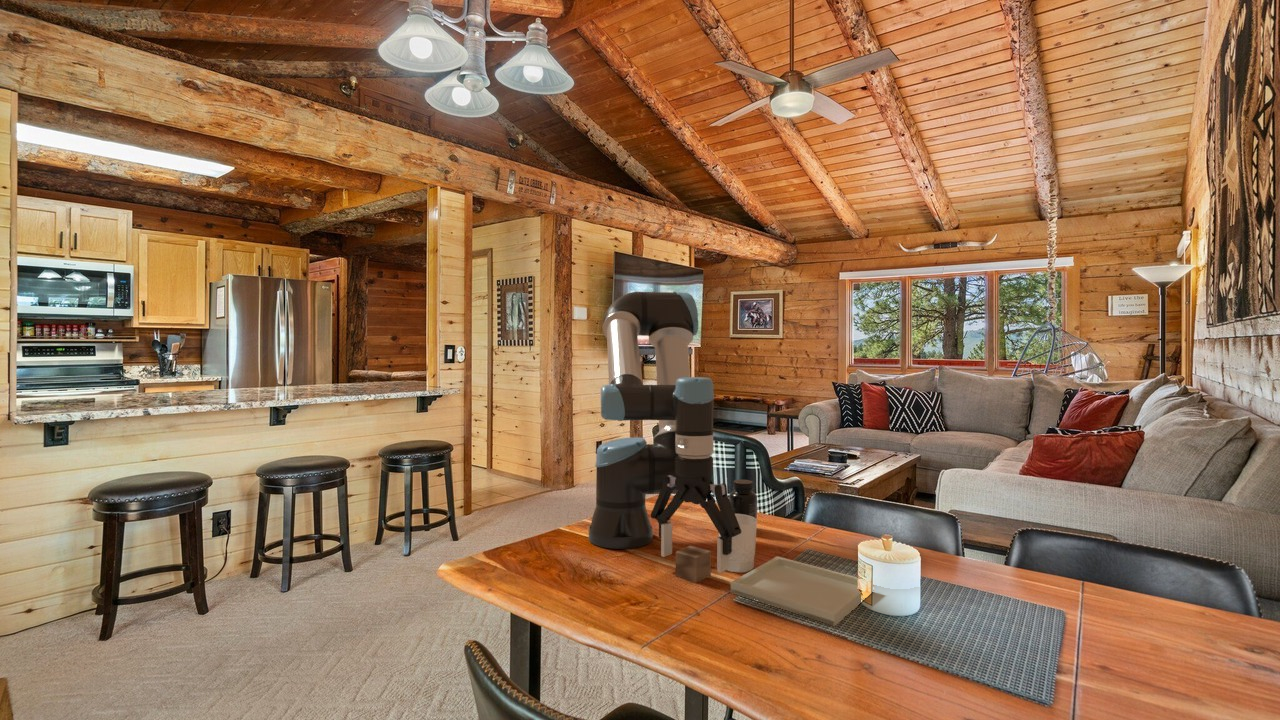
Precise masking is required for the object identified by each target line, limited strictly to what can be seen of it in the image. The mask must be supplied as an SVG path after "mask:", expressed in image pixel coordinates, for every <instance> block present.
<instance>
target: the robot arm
mask: <svg viewBox="0 0 1280 720" xmlns="http://www.w3.org/2000/svg"><path fill="white" fill-rule="evenodd" d="M698 331H699V313H698V307H697V303H696V301H695V298H694V296H693V295H691V293H689V292H678V291H671V292H670V291H669V292H668V291H667V292H666V291H665V292H663V291H632V292H629V293H626V294H623V295H621V296H620V297H618V298H617V299H616V300H615V301H613V302H612V303H611V304H610V306H609V307H608V308H607V309H606V311H605V313H604V316H603V319H602V333H603V335H604V337H605V338H606V340H607V341H606V342H607V344H606V345H607V349H606V350H607V369H608V370H607V371H608V374H607V376H608V384H605V385H602V386H601V387H600V416H601V418H602V419H604V420H606V421H611V420H612V421H618V422H622V421H623V422H624V421H625V422H626V421H658V429H659V431H658V432H657V434H655V435H654V436H653V443H652V444H647V441H646V439H645V438H644V437H640V436H638V437H637V436H636V437H623V438H616V439H612V440H608V441H606V442H603V443H601V444H600V445H598V447H597V449H596V460H595V461H596V462H595V464H594V465H595V467H596V473H595V474H596V480H595V481H596V483H595V487H596V489H595V495H596V496H595V499H596V500H595V501H596V502H595V509H594V511H593V515H592V519H591V523H590V525H589V527H588V541H589V542H590V543H591V544H592V545H595V546H597V547H599V548H600V547H602V548H606V549H614V550H615V549H616V550H620V549H621V550H624V549H626V550H627V549H635V548H639V547H644V546H646V545H648V544H650V543H651V542H652V541H653V539H654V530H653V525H651V521H650V518H651V519H652V520H653V519H654V520H656V521H657V522H658V538H659V539H661V541H660V543H661V544H660V550H661V551H660V556H661V557H662V558H664V557H667V556H670V555H672V554H673V522H672V521H671V520H672V517H673V515H674V514H675V513H676V512H677V510H678V509H679V508H680V507H681V505H682V504H683V502H684V503H691V504H694V505H699V506H700V507H701V508H702V509H704V511H705V512H706V514H707V515H708V517H709V519H710V520H711V522H712V523H713V525H714V527H715V529H716V530H717V532H718V535H719V534H720V535H721V536H720V537H719V536H718V537H717V538H716V539H717V542H716V543H717V544H716V546H717V547H716V548H717V549H716V551H717V552H716V555H717V556H716V557H717V559H716V561H717V562H716V572H717V573H723V572H725V571H727V569H728V554H731V552H732V537H734V536H736V535H739V534H741V529H740V526H739V523H738V521H737V518H736V516H735V513H734V511H733V508H732V505H731V503H730V500H729V495H728V488H727V484H726V482H725V483H724V482H723V483H719V484H717V483H716V484H715V483H714V482H713V475H714V458H713V456H712V455H713V454H714V398H715V393H714V381H713V380H712V379H711V378H710V377H702V376H701V377H700V376H697V377H695V376H691V369H690V367H691V366H690V356H689V345H690V344H691V343H692V342H693V340H694V337H695V336H696V335H697V334H698ZM638 336H646V337H647V336H648V342H649V344H650V345H651V346H653V347H654V350H655V351H654V352H655V353H654V354H655V372H656V373H655V374H656V384H644V380H643V375H642V365H641V364H642V363H641V356H640V348H639V347H640V346H639V340H638ZM646 495H658V496H657V497H656V498H657V499H656V501H655V503H654V505H653V508H652V511H651V513H650V517H649V513H648V510H647V507H646V505H647V504H646ZM671 495H673V497H672V499H671V501H670V502H669V500H670V498H671ZM716 503H717V504H716Z"/></svg>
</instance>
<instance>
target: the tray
mask: <svg viewBox="0 0 1280 720" xmlns="http://www.w3.org/2000/svg"><path fill="white" fill-rule="evenodd" d="M857 577H858V576H854V575H850V574H846V573H842V572H839V571H835V570H832V569H831V570H830V569H828V568H823V567H819V566H815V565H813V564H812V565H811V564H808V563H805V562H800V561H797V560H793V559H790V558H785V557H781V556H777V555H776V556H775V557H774V558H771V559H769V560H767V562H766V561H765V563H763V564H761V565H759V566H757V567H754V568H753V569H752V570H751V571H748V572H745V573H744V574H743V575H741V576H739V577H737V578H736V579H734V580H732V581H730V594H733V595H735V596H740V597H742V596H744V597H743V598H745V597H748V598H751V599H755V600H758V601H760V602H763V603H762V604H764V603H767V604H770V605H773V606H775V607H774V608H776V607H777V609H779V608H781V609H780V610H782V609H783V611H785V610H787V611H786V612H788V611H790V612H789V613H791V612H793V613H792V614H794V613H796V614H795V615H798V614H799V615H798V616H801V615H802V616H801V617H804V616H805V617H804V618H807V617H808V619H810V618H811V620H813V619H814V620H813V621H816V620H817V621H816V622H819V621H820V622H819V623H822V622H823V623H822V624H825V623H826V625H829V626H832V627H835V626H837V625H838V624H839V623H840V622H841V621H842V620H843V619H845V618H846V617H847V616H848V615H850V614H851V613H852V612H853V611H854V610H856V608H857V607H858V605H859V604H860V603H861V592H860V591H859V590H858V589H857ZM748 598H747V599H748ZM751 599H750V600H751ZM760 602H759V603H760ZM767 604H766V605H767ZM861 604H862V603H861ZM861 604H860V605H861ZM770 605H769V606H770ZM860 605H859V606H860ZM773 606H772V607H773ZM852 610H853V611H852ZM851 611H852V612H851ZM845 616H846V617H845ZM844 617H845V618H844Z"/></svg>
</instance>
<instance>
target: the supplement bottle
mask: <svg viewBox="0 0 1280 720" xmlns="http://www.w3.org/2000/svg"><path fill="white" fill-rule="evenodd" d="M732 484H733V485H732V486H733V487H732V489H733V491H731V492H730V493H729V495H728V498H729V500H730V503H731V505H732V508H733V511H734V513H735V514H744V515H749V516H752V517H754V518H756V519H757V520H758V496H757V494H756V493H755V492H754V491H753V490H754V482H753V480H749V479H734V480H733V482H732Z"/></svg>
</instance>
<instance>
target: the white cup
mask: <svg viewBox="0 0 1280 720" xmlns="http://www.w3.org/2000/svg"><path fill="white" fill-rule="evenodd" d="M735 516H736V518H737V521H738V523H739V526H740V529H741V534H739V535H736V536H734V537H732V552H731V554H728V569H727V570H726V571H727V572H731V573H748V572H750V571H752V570H753V569H755V567H754V566H755V555H756V545H757V544H756V543H757V531H758V530H757V529H758V528H757V527H758V518H757V519H756V518H754V517H752V516H749V515H744V514H735ZM720 536H721V535H720V534H719V533H718V537H720Z"/></svg>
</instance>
